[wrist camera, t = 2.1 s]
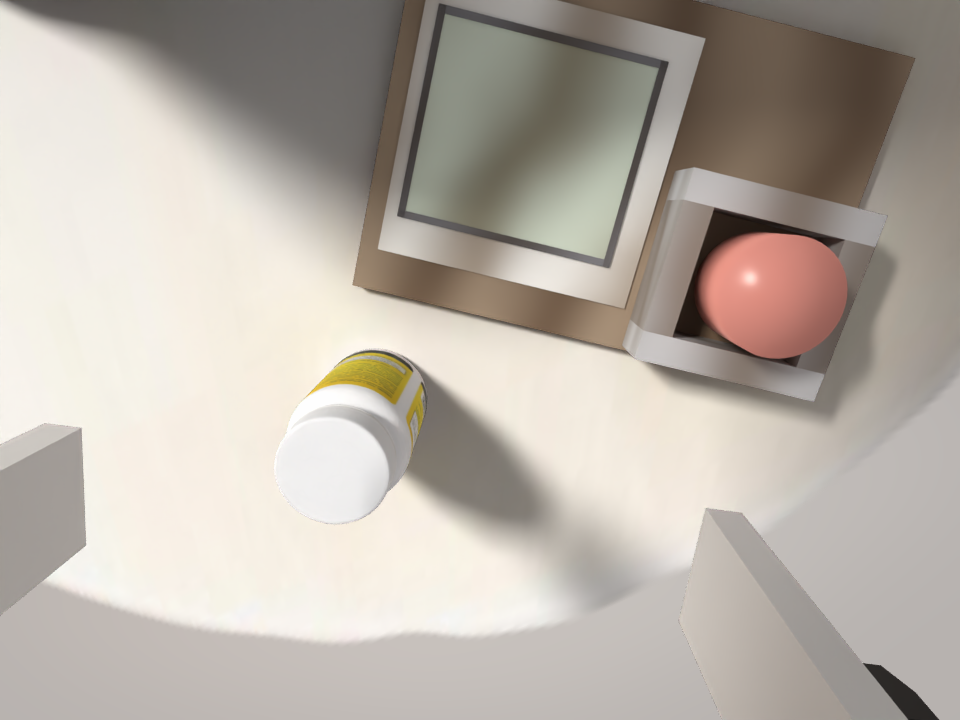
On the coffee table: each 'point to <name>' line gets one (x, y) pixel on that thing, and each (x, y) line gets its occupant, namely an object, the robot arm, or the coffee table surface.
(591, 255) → the board
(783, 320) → the button
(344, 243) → the coffee table surface
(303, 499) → the supplement bottle
